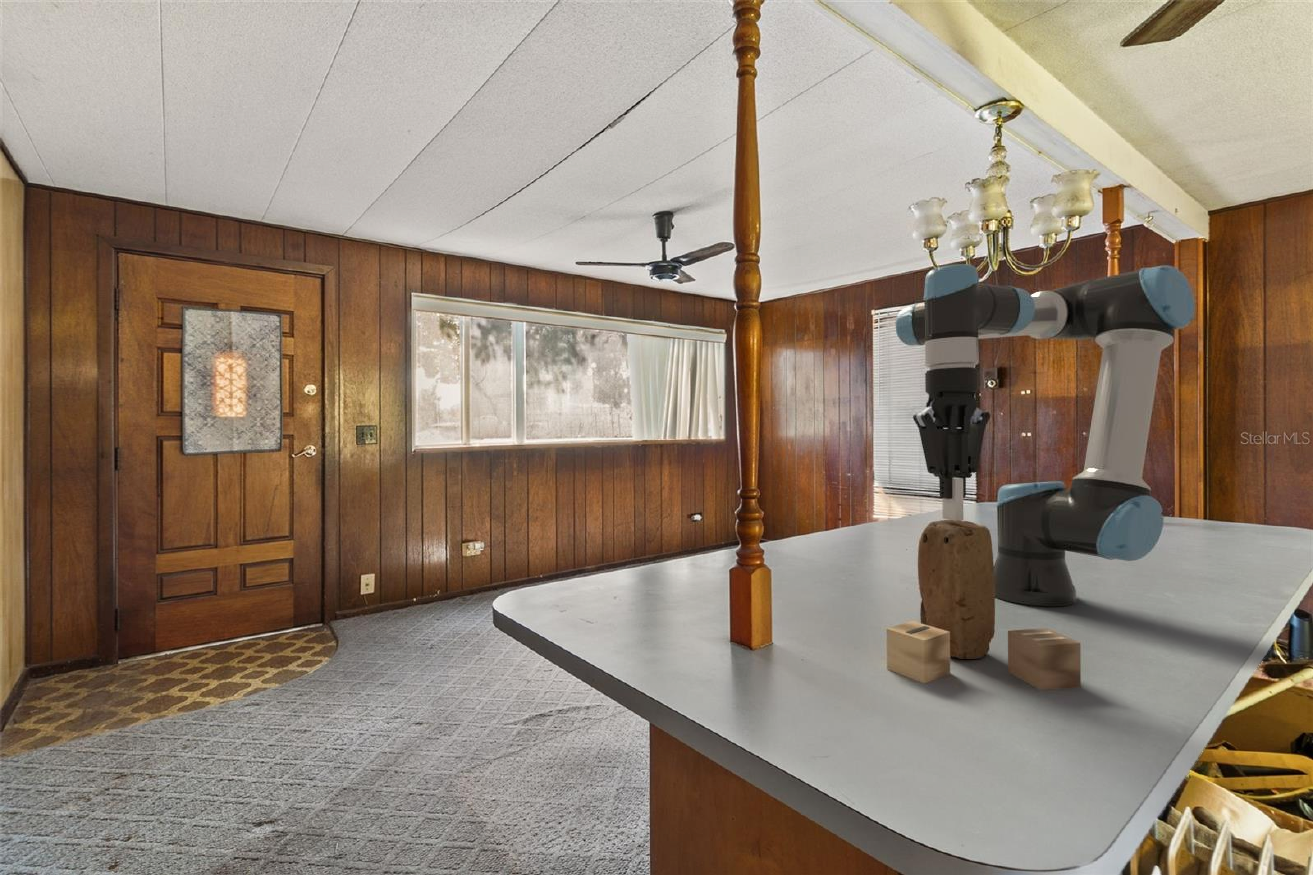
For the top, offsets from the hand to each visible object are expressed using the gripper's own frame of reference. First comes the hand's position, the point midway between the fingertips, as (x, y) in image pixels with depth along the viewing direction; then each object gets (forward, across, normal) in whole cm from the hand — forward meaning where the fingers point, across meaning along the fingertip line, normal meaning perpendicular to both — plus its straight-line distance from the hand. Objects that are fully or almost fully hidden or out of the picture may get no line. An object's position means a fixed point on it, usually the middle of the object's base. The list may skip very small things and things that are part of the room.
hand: (952, 519), depth 95 cm
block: (+21, 0, 0) cm, 21 cm away
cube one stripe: (+21, +11, +5) cm, 24 cm away
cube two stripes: (+21, -3, +13) cm, 25 cm away
